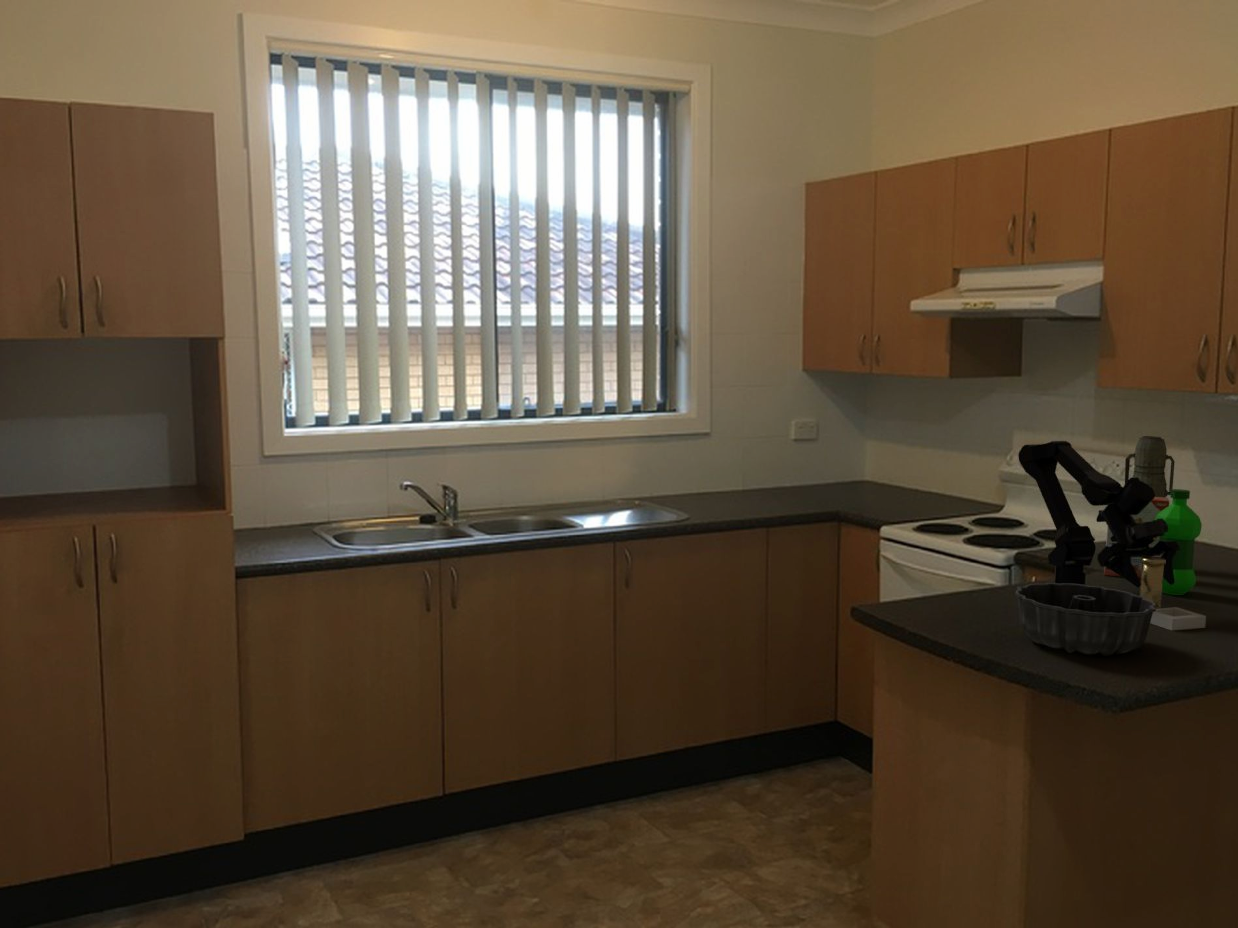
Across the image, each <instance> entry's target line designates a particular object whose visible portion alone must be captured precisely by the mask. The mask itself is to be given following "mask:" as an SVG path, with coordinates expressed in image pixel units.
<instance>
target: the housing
mask: <svg viewBox="0 0 1238 928" xmlns="http://www.w3.org/2000/svg"><path fill="white" fill-rule="evenodd" d="M1206 621H1207V616H1206V615H1204V614H1201V613H1197V612H1193V611H1190V610H1188V609H1183V608H1181V607H1175V606H1173V607H1163V608H1160V609H1156V611H1155V612H1153V614H1152V618H1151V622H1150V624H1152V625H1154V626H1157V627H1161V628H1163V629H1166V630H1168V631H1169V630H1170V631H1181V630H1192V629H1194V630H1195V629H1201V628H1202V629H1205V628H1206Z"/></svg>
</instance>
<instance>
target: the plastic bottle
mask: <svg viewBox="0 0 1238 928" xmlns="http://www.w3.org/2000/svg"><path fill="white" fill-rule="evenodd" d="M1169 496H1170V498H1171V500H1172V503H1170V504H1169V506H1168V507H1166V508H1165V509H1164V510H1162V511H1161V512H1160V513H1158V514H1157V516H1156V518H1155V520H1156V519H1164V521H1165V522H1166V523H1167V525H1168V532H1165V533H1164V534H1165V535H1164V536H1159V541H1163V540H1174V541H1176V542H1177V544H1178V545H1179V547H1180V550H1179V551H1178V552H1177V554H1176V555H1175V556H1173V559H1172V567H1173V574H1174V580H1175V583H1174V584H1173V585H1170V584H1169V583H1168V582H1167V581H1166V580H1165V579H1164V578H1163V584H1162V594H1166V595H1172V596H1182V595H1185V594H1186V593H1188V592H1189V591H1191V590H1192V589H1193V588H1194V587H1195V585H1196V583H1197V582H1196V581H1197V577H1196V573H1195V571H1194V569H1193V567H1194V551H1195V539H1197V538H1198V537H1199V536H1200V535H1201V532H1202V526H1203V525H1202V522H1201V521H1202V520H1201V519H1200V516H1199V515H1198V514H1197V513H1196V512H1195V511H1194V510H1193V509H1192V508H1190V506H1188V505H1187V503H1188V500H1190V496H1191V491H1190V490H1188V489H1181V488H1176V489H1175V488H1173V489H1171V494H1170V495H1169Z"/></svg>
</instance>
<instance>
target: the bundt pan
mask: <svg viewBox="0 0 1238 928" xmlns="http://www.w3.org/2000/svg"><path fill="white" fill-rule="evenodd" d="M1015 596H1016V597H1017V602H1018V603H1017V605H1018V613H1019V623H1020V626H1021V628H1022V630H1023V632H1025V634H1026V635H1027V636H1029V638H1030V639H1031V640H1032V641H1033V642H1034V643H1037V644H1039V645H1042V646H1047V647H1049V648H1051V649H1054V650H1061V649H1064V650H1065V651H1066V652H1067V653H1068V654H1072V653H1074V652H1076V651H1077V652H1079V653H1082V654H1084V655H1095V654H1099V655H1100V656H1103V657H1109V656H1111V655H1114V654H1115V655H1122V654H1125V653H1128V652H1133V651H1135V650H1137V649H1139V648H1141V646H1142V645H1143V644H1144V643H1145V642H1146V639H1147V636H1148V633H1149V629H1150V624H1151V623H1150V622H1151V618H1152V614H1153V612H1155V611H1156V608H1155V605H1156V604H1155V603H1154V602H1152V601H1150V600H1146V599H1145V597H1142V596H1140V595H1136V594H1134V593H1131V592H1129V591H1126V590H1120V589H1114V588H1107V587H1103V586H1097V585H1096V586H1094V585H1088V584H1085V585H1081V584H1067V583H1064V584H1057V583H1055V582H1046V583H1029V584H1027V585H1024V586H1018V587H1017V588H1016V591H1015Z"/></svg>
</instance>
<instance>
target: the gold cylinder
mask: <svg viewBox="0 0 1238 928" xmlns="http://www.w3.org/2000/svg"><path fill="white" fill-rule="evenodd" d="M1141 562H1142V572H1141V579H1140V582H1141V586H1140V587H1139V588H1140V589H1139V596H1142V597H1145V599H1146V600H1150V601H1152V602H1154V603H1155V604H1156V605H1155V608H1156V609H1160V608H1161V607H1162V596H1163V595H1162V594H1163V592H1162V584H1163V571H1164V564H1166V559H1164V558H1159V557H1150V556H1145V557H1141Z"/></svg>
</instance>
